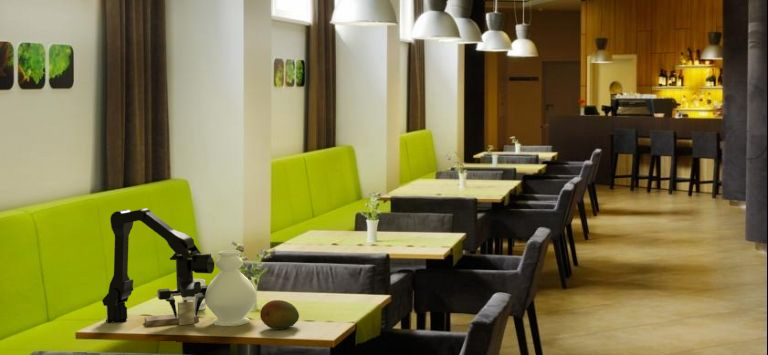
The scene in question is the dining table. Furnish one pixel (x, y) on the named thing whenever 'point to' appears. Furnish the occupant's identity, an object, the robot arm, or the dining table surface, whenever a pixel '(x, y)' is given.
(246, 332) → the dining table surface
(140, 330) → the dining table surface
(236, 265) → the decorative vase
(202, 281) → the mug
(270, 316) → the fruit
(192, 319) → the beige box with knob
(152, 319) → the board
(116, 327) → the dining table surface
